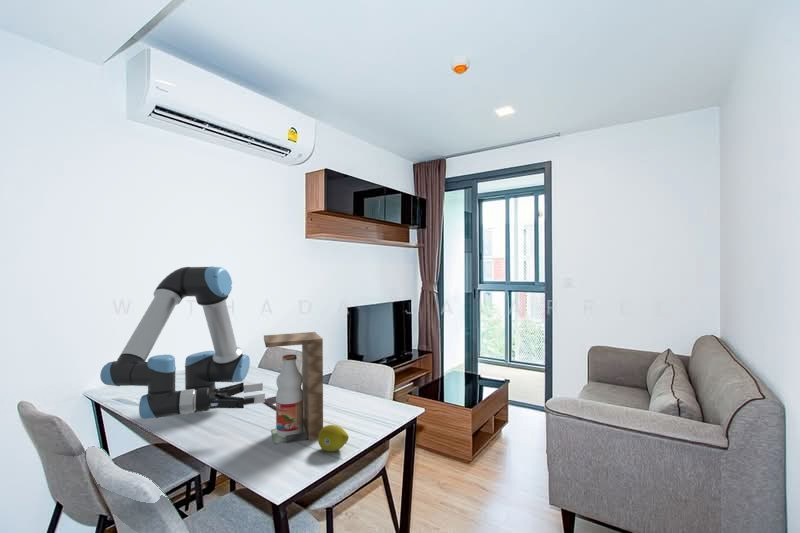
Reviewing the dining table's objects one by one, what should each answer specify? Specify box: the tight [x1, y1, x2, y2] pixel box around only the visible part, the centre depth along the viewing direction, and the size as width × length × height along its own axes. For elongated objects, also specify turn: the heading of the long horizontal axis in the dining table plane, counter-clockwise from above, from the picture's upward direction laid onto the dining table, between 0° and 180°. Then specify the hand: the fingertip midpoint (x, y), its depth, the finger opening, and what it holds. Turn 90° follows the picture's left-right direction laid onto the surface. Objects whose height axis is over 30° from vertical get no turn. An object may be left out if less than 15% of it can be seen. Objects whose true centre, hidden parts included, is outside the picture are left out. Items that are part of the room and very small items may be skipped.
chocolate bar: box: [263, 395, 276, 411], centre depth 166 cm, size 9×1×18 cm
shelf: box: [263, 331, 324, 444], centre depth 136 cm, size 19×16×35 cm
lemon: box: [317, 424, 349, 453], centre depth 123 cm, size 11×8×8 cm
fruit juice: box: [275, 354, 303, 438], centre depth 136 cm, size 9×9×28 cm
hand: (263, 391), depth 133 cm, fingers open, 13 cm apart
